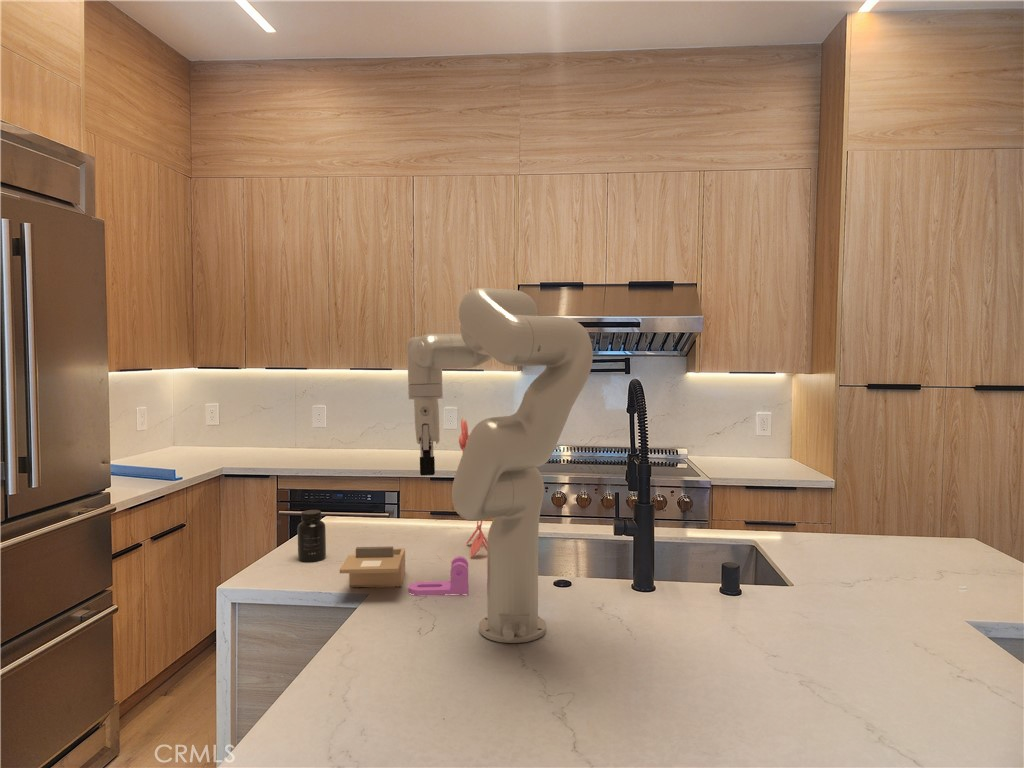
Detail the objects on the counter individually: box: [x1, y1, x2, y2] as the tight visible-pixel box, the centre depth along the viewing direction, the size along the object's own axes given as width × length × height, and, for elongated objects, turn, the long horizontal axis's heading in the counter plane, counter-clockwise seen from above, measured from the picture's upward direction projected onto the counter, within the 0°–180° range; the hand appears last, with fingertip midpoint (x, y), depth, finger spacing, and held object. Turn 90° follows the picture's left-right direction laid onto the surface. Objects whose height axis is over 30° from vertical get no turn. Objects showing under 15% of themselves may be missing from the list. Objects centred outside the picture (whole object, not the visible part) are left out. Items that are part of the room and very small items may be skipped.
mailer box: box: [348, 547, 406, 588], centre depth 157 cm, size 9×11×6 cm
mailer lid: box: [339, 546, 403, 574], centre depth 147 cm, size 10×12×3 cm
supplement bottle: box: [296, 509, 327, 563], centre depth 173 cm, size 7×7×12 cm
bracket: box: [407, 555, 469, 596], centre depth 150 cm, size 13×6×7 cm, turn 93°
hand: (427, 474), depth 153 cm, fingers closed
